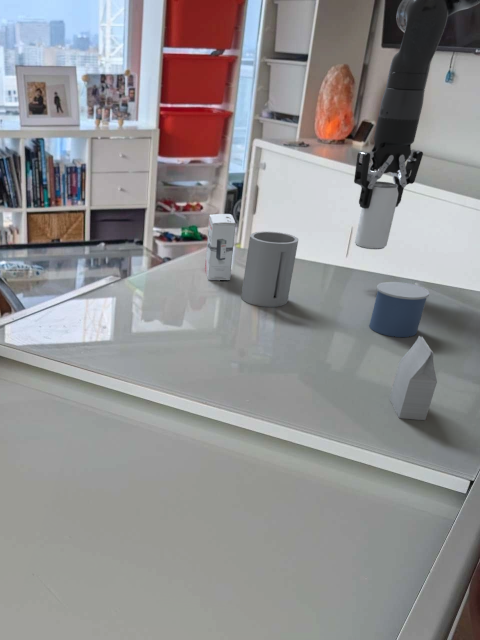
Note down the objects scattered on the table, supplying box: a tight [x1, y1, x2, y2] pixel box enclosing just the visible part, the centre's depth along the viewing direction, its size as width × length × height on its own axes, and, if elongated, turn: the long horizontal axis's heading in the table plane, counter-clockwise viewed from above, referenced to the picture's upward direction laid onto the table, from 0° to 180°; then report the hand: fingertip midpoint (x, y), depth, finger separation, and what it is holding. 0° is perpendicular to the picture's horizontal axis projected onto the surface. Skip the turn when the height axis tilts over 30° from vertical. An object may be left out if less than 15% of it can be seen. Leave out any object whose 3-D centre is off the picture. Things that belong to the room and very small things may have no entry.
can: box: [354, 181, 398, 250], centre depth 155 cm, size 6×6×12 cm
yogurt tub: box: [368, 281, 430, 338], centre depth 138 cm, size 9×9×7 cm
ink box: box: [204, 213, 237, 281], centre depth 161 cm, size 9×5×12 cm, turn 178°
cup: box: [240, 231, 299, 308], centre depth 149 cm, size 9×9×12 cm
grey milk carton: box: [388, 335, 438, 421], centre depth 109 cm, size 4×7×10 cm, turn 173°
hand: (378, 206), depth 154 cm, fingers closed on can, 6 cm apart
